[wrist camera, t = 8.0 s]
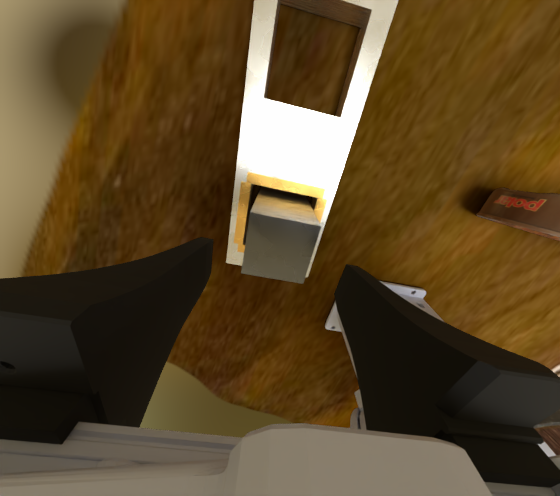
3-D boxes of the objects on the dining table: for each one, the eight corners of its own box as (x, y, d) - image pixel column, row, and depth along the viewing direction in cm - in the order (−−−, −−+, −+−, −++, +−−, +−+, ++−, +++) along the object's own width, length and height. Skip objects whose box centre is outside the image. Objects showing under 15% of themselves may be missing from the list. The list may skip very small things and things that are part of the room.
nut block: (305, 195, 19) (321, 226, 11) (294, 235, 20) (303, 283, 13) (261, 185, 18) (249, 212, 11) (254, 227, 20) (241, 272, 13)
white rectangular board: (401, -41, 12) (423, -76, 10) (305, 266, 22) (308, 278, 20) (269, -86, 11) (268, -132, 10) (230, 252, 21) (225, 263, 19)
